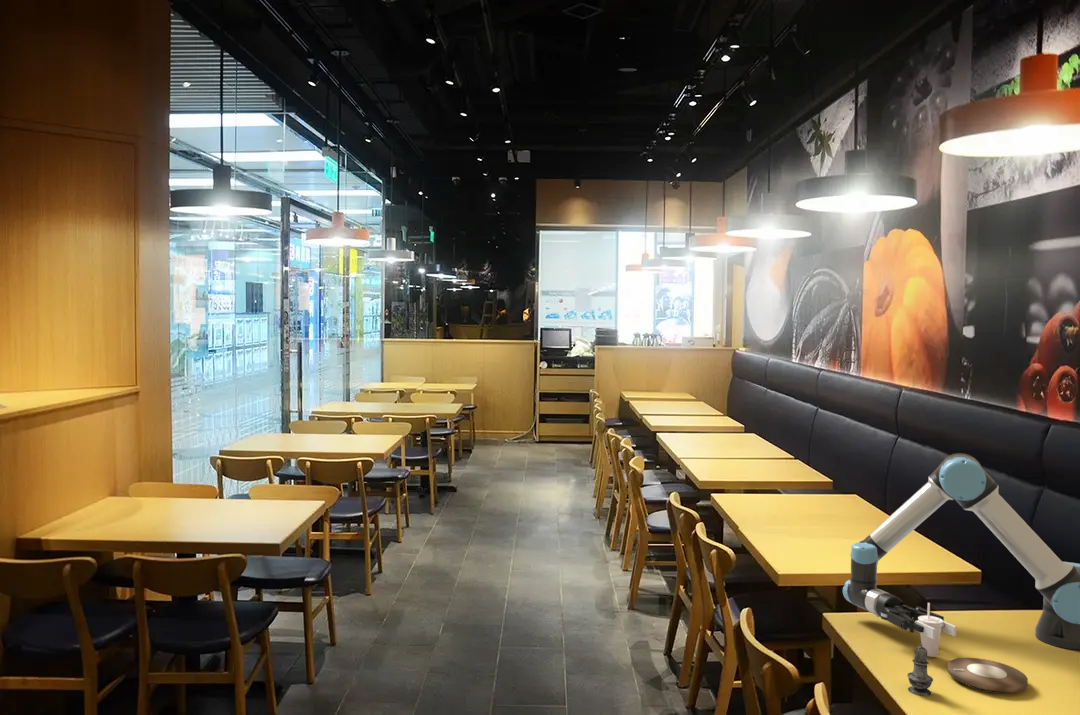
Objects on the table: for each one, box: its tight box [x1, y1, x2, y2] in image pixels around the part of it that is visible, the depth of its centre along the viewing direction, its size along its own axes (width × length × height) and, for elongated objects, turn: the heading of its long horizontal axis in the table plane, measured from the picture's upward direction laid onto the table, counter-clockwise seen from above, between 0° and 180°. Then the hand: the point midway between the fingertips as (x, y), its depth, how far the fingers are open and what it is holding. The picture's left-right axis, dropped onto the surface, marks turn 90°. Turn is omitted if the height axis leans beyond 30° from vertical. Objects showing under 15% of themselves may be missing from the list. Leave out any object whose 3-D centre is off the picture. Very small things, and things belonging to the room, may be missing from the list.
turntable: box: [946, 657, 1029, 693], centre depth 206 cm, size 18×18×2 cm
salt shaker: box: [906, 643, 934, 697], centre depth 199 cm, size 6×6×12 cm
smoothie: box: [918, 602, 944, 658], centre depth 222 cm, size 6×6×14 cm
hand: (944, 632), depth 217 cm, fingers closed on smoothie, 6 cm apart
